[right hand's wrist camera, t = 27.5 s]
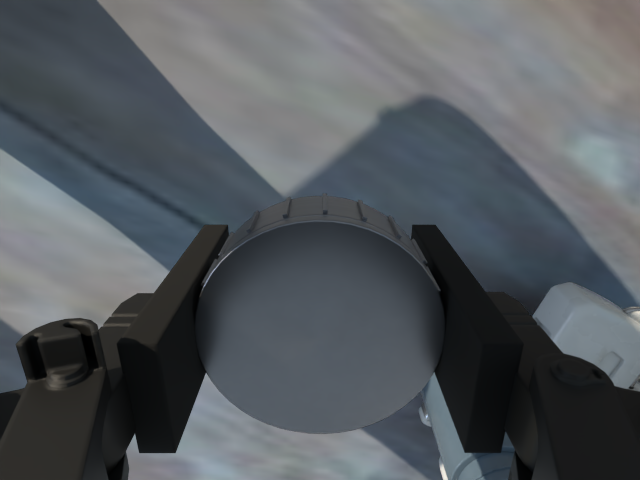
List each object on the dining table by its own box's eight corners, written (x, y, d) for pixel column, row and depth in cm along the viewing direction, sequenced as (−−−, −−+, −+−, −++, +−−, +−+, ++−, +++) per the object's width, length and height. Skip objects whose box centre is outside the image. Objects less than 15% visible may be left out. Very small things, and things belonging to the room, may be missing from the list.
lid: (437, 188, 11) (460, 211, 9) (424, 383, 13) (440, 433, 11) (196, 196, 11) (171, 221, 9) (224, 389, 13) (209, 439, 12)
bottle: (440, 363, 40) (518, 552, 24) (391, 341, 39) (440, 523, 23) (473, 320, 38) (580, 494, 23) (423, 296, 37) (499, 460, 22)
